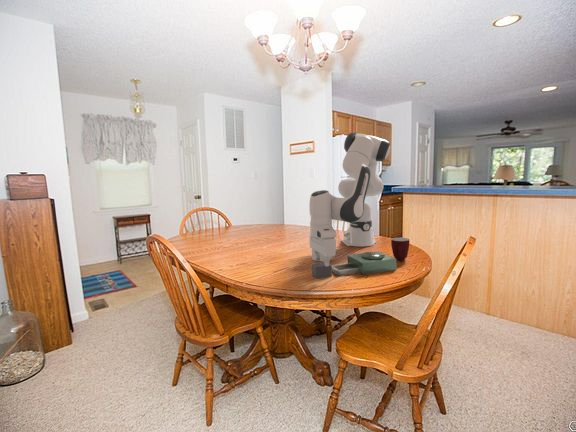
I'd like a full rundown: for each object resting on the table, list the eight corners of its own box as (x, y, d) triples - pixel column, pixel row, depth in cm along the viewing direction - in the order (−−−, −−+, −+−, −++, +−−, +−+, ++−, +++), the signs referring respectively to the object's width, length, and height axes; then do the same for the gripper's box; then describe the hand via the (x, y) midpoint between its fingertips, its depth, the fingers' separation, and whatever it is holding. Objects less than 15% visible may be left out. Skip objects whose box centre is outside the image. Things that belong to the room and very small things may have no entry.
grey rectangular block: (311, 275, 129) (311, 263, 128) (327, 272, 131) (326, 261, 130) (315, 278, 124) (315, 267, 124) (331, 276, 126) (331, 265, 125)
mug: (411, 264, 137) (411, 242, 136) (392, 263, 139) (392, 242, 138) (407, 257, 147) (408, 237, 146) (390, 257, 149) (390, 237, 148)
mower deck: (327, 268, 137) (327, 255, 136) (378, 261, 143) (378, 249, 143) (340, 278, 123) (340, 264, 123) (396, 269, 130) (396, 256, 129)
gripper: (305, 227, 134) (306, 257, 135) (323, 235, 114) (324, 270, 116) (318, 226, 135) (319, 256, 137) (338, 233, 116) (339, 268, 117)
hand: (322, 262), depth 126 cm, fingers open, 8 cm apart
